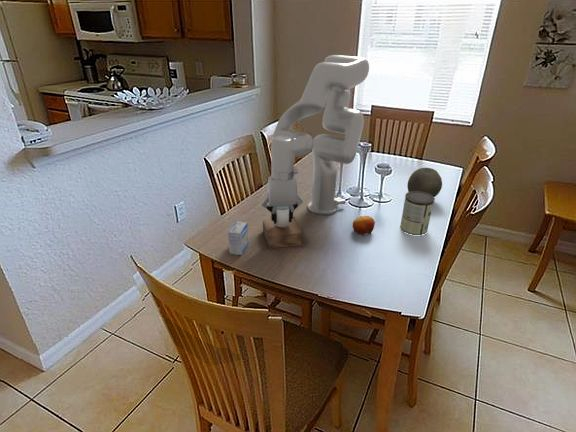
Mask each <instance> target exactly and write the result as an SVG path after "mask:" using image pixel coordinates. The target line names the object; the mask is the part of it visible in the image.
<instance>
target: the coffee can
mask: <svg viewBox="0 0 576 432" xmlns="http://www.w3.org/2000/svg"><path fill="white" fill-rule="evenodd" d="M404 197H405V198H404V203H403V209H402V215H401V221H400V225H399V229H400V228H401V230H402V231H403V232H402V231H401V230H400V231H401V232H402V233H404V232H406V233H408V234H412V235H422V234H425V233H426V232H427V233H428V230H429V225H430V222H431V221H430V220H431V216H432V211H433V207H434V203H435V200H436V199H435V197H433V196H432V195H430V194H428V193H425V192H421V191H411V192H408V191H407V192H406V193H405V196H404ZM408 234H407V235H408ZM425 235H426V234H425Z"/></svg>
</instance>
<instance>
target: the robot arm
mask: <svg viewBox="0 0 576 432" xmlns="http://www.w3.org/2000/svg"><path fill="white" fill-rule="evenodd" d="M369 70H370V64H369V61H368V60H367V58H365V57H364V56H363V57H362V56H351V55H345V54H344V55H342V54H341V55H340V54H331V55H328V56H326V57H325V58H324V61H323V62H319V63H317V64H315V66H314V68H313V69H312V72H311V73H310V76H309V79H308V82H307V84H306V86H305V88H304V91H303V93H302V96H301V98H300V99H299V100H298V101H297V102H295V103H294V104H293V105H292V106H290V107H289V108H287V110H286V111H284V112H283V114H282V115H281V116H280V117H279V119H278V121H277V124H276V126H275V129H274V131H273V135H272V139H271V142H270V143H271V144H270V147H271V149H270V151H271V152H270V153H271V154H270V155H271V158H270V159H271V169H270V170H271V172H270V173H271V175H269V177H268V181H267V189H266V197H265V198H264V199H263V201H261V206H262V208H265V209H267V210H268V211H269V212H270V213H271V214H270V215H271V216H270V217H271V218H270V219H271V220H272V221H273V222H274V224H276V212H275V211H276V208H277V206H285V205H289V206H290V207H289V222H292V219H293V217H294V212H295V210H296V209H297V208H298V207H299V206H300V205H301V204H303V203H304V202H303V199H302V198H301V197H300V196H299V194H298V185H297V179H296V174H299V169H297V168H295V158H296V157H302V156H307V155H308V154H310V152H312V160H313V170H312V171H313V173H312V189H311V201H310V202H308V203H307V209H308V211H310V212H311V213H313V214H315V215H323V216H324V215H325V216H326V215H332V214H334V213H336V212H337V211H338V208H339V207H338V206H339V205H344V204H346V199H342V198H341V197H337V198H336V197H335V196H336V189H337V188H336V186H337V175H338V168H337V167H338V166H337V165H336V163H339V164H345V165H349V164H351V163H352V162H353V161H354V160H355V158H356V155H357V152H358V148H359V145H360V141H361V137H362V133H363V129H364V126H365V125H364V123H365V118H364V114H363V112H362V111H360V110H359V109H356V108H355V109H354V108H351V107H350V108H349V105H350V101H351V97H352V96H351V95H352V94H351V91H350V90H351V89H353V88H355V87H357V86H358V85H361V84H362V83H364V81H365V80H366V78H367V77H368V75H369V72H370V71H369ZM323 110H324V111H323ZM322 112H323V117H322V122H321V123H322V127H323V128H324V129H325V130H327V132H328V131H329V132H333V133H338V134H343V135H345V136H344V137H342V136H337V135H332V134H330V133H329V134H327V133H321V134H317V135H316V136H315V137H314V138H313V137H312V135H310V134H308V133H306V132H300V131H298V130H292V127H293V126H294V125H295V124H296V123H297V122H298V121H300V120H302V119H304V118H307V117H310V116H311V117H312V116H314V115H317V114H320V113H322Z"/></svg>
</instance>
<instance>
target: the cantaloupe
mask: <svg viewBox="0 0 576 432" xmlns="http://www.w3.org/2000/svg"><path fill="white" fill-rule="evenodd" d="M442 188H443V179H442V177H441V175H440V173H439V172H438V171H437V170H436V169H434V168H431V167H420V168H418V169H416V170H414V171H413V172H412V173H411V174H410V176H409V178H408V181H407V193H408V192H411V191H421V192H425V193H428V194H430V195H432V196H433V197H434V198H435V197H437V196H439V194H440V192H441V190H442Z"/></svg>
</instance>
